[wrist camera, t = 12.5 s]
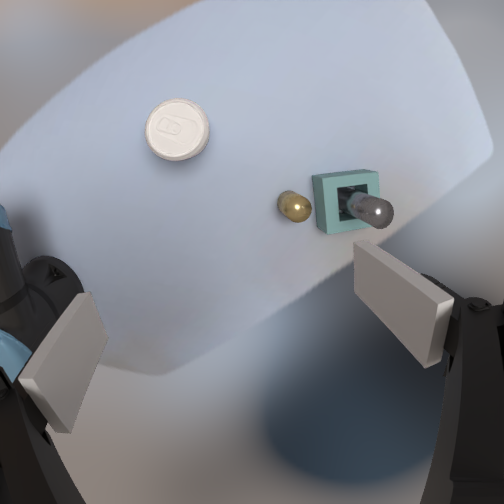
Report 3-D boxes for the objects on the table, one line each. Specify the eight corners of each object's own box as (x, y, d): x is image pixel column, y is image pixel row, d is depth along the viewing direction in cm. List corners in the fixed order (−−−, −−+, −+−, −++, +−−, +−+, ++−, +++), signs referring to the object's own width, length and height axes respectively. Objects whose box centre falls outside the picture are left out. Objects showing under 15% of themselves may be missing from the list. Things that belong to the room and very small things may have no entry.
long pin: (331, 210, 52) (369, 231, 39) (329, 187, 51) (368, 201, 37) (352, 206, 52) (393, 226, 39) (350, 184, 51) (393, 198, 38)
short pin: (278, 216, 51) (287, 224, 45) (275, 192, 50) (284, 198, 44) (301, 212, 51) (312, 220, 46) (299, 189, 50) (310, 194, 44)
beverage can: (196, 166, 47) (192, 171, 35) (150, 148, 45) (132, 147, 33) (218, 120, 45) (220, 110, 33) (171, 102, 43) (159, 87, 31)
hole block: (317, 226, 52) (327, 234, 48) (311, 175, 49) (322, 178, 45) (367, 218, 53) (380, 224, 49) (364, 169, 50) (378, 171, 45)
